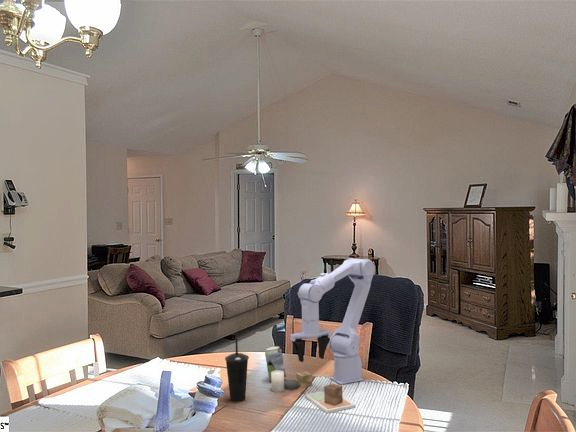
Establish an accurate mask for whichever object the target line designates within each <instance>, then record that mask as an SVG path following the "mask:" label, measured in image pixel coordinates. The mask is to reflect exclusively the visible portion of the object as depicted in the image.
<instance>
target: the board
mask: <svg viewBox="0 0 576 432" xmlns="http://www.w3.org/2000/svg"><path fill="white" fill-rule="evenodd" d="M304 398H305V399H307V400H308V401H309V402H311V403H312V404H313V405H314V406H316V407H318V408H319V409H320V410H322V411H323V412H324V413H326V414H330V413H335V412H341V411H345V410H344V409H346V410H350V409H349V408H351V409H354V408H355V409H356V404H355V403H354V402H351V401H350V400H348V399H347V398H345V397H344V396H343V402H342V403H340V404H338V405H335V406H334V405H330V404H327V403H325V402H324V390H323V391H316V392H313V393H312V392H311V393H308V394H304ZM340 410H341V411H340Z"/></svg>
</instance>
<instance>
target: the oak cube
mask: <svg viewBox="0 0 576 432" xmlns="http://www.w3.org/2000/svg"><path fill="white" fill-rule="evenodd" d="M295 376H296V380H297V381H298V385H299V387H300V388H308V387H312V386H313V374H312V373H309V372H308V371H302V372H301V371H300V372H296V375H295Z"/></svg>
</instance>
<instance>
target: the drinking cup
mask: <svg viewBox="0 0 576 432" xmlns="http://www.w3.org/2000/svg"><path fill="white" fill-rule="evenodd" d="M234 341H235V352H233V353H231V354H228V355H226V356H225V358H224V360H225V363H226V364H225V365H226V371H227V372H226V373H227V381H228V382H227V383H228V390H229V397H230V398H229V399H230V402H232V403H233V402H234V403H240V402H244V401H246V393H247V380H248V379H247V378H248V364H249V355H247V354H244V353H241V352H239V348H238V347H239V346H238V341H239V340H238V337H235V340H234Z"/></svg>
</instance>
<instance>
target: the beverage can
mask: <svg viewBox="0 0 576 432" xmlns="http://www.w3.org/2000/svg"><path fill="white" fill-rule="evenodd" d="M282 352H283V351H282V349H281V348H280V346H270V347H267V348H266V350H265V353H264V356H265V361H266V367H267V374H268V380H269V381H271V372H272V371H275V370H281V371H284V379H286V377H287V375H286V374H287V373H286V369H285V363H284V358H283V357H284V356H283V353H282Z"/></svg>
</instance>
